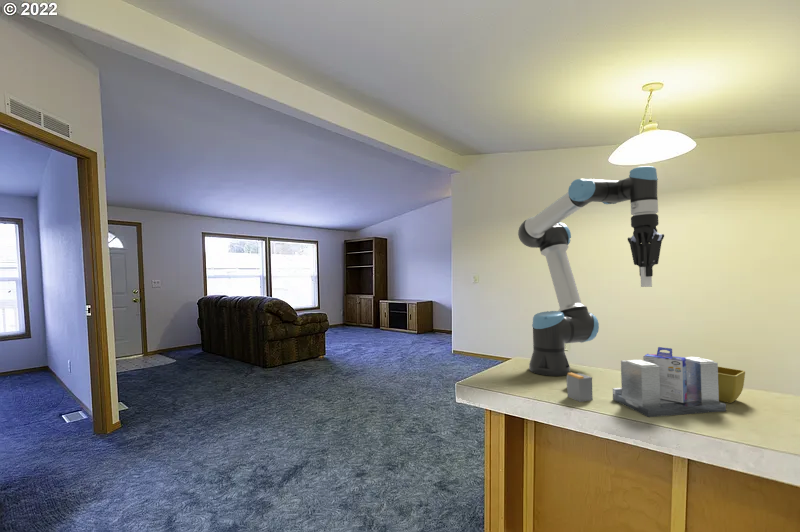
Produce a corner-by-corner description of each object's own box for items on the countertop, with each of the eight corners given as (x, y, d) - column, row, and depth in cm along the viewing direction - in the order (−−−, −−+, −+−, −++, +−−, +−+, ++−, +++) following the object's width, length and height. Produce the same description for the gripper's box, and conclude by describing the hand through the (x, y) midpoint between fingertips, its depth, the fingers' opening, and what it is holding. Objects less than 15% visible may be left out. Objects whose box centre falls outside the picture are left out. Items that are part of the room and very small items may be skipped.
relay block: (567, 396, 119) (567, 373, 119) (580, 395, 120) (579, 371, 121) (579, 402, 114) (578, 377, 114) (592, 400, 116) (591, 375, 116)
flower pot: (736, 407, 108) (735, 375, 108) (699, 398, 115) (699, 369, 115) (746, 400, 112) (745, 370, 113) (710, 393, 120) (709, 365, 120)
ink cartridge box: (688, 399, 109) (686, 349, 109) (685, 404, 105) (683, 352, 105) (648, 391, 116) (646, 345, 116) (643, 396, 112) (642, 347, 112)
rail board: (612, 399, 116) (611, 356, 116) (682, 394, 119) (680, 352, 119) (648, 417, 102) (646, 367, 102) (726, 411, 105) (724, 363, 105)
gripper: (619, 217, 128) (621, 286, 128) (649, 211, 115) (651, 287, 115) (639, 217, 129) (641, 285, 129) (671, 211, 116) (673, 287, 116)
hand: (646, 286), depth 122 cm, fingers closed
